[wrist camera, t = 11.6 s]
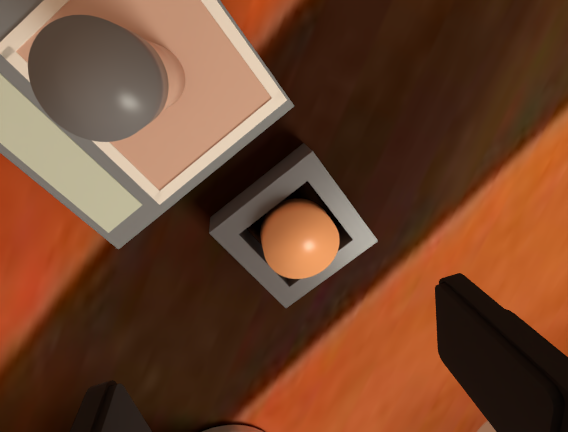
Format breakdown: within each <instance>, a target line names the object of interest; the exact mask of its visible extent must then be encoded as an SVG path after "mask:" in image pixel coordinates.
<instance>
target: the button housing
mask: <svg viewBox="0 0 568 432" xmlns="http://www.w3.org/2000/svg"><path fill="white" fill-rule="evenodd" d="M307 181H308V182H309V183H310V185H311V186H312V187H313V188H314V190H315V191H316V192H317V194H318V195H319V196H320V198H321V199H322V200H323V201H324V203H325V204H326V205H327V207H328V208H329V209H330V211H331V212H332V213H333V214H334V216H335V217H336V218H337V220H338V221H339V222H340V224H341V226H340V227H338V228H337V230H338V233H339V248H338V252H337V254H336V256H335V258H334V260H333V261H332V262H331V264H330V265H329V266H328V267H327V268H325V269H324V270H323V271H321V272H320V273H318V274H316V275H314V276H311V277H308V278H303V279H291V278H287V277H284V276H281V275H279V274H278V273H276V272H275V271H274V270H272V269H271V267H270V266H269V265H268V263H267V261H266V259H265V256H264V252H263V248H262V245H261V244H260V243H259V242H258V241H257V240H256V239H255V238H254V237H253V236H252V235H251V233H250V232H249V231H248V230H247V229H246V228H248V227H249V226H250V225H251V224H253V223H254V222H255V221H257V220H258V219H259V218H260V217H262V216H263V215H264V214H266V213H267V212H268V211H269V210H271V209H272V208H273V207H275V206H276V205H277V204H278V203H280V202H281V201H282V200H284V199H285V198H286V197H287V196H289V195H290V194H291V193H293V192H294V191H295V190H296V189H298V188H299V187H300V186H301V185H303V184H304V183H305V182H307ZM209 233H210V234H211V235H212V236H213V237H214V238H215V239H216V240H217V241H218V242H219V243H220V244H221V245H222V246H223V247H224V248H225V249H226V250H227V251H228V252H229V253H230V254H231V255H232V256H233V257H234V258H235V259H236V260H237V261H238V262H239V263H240V264H241V265H242V266H243V267H244V268H245V269H246V270H247V271H248V272H249V273H250V274H251V275H252V276H253V277H254V278H256V279H257V280H258V281H259V282H260V283H261V284H262V285H263V286H264V287H265V288H266V289H267V290H268V291H269V292H270V293H271V294H272V295H273V296H274V297H275V298H276V299H277V300H278V301H279V302H280V303H281V304H282V305H283V306H284V307H285V308H287V307H289V306H290V305H291V304H293V303H294V302H295V301H297V300H298V299H299V298H301V297H302V296H304V295H305V294H306V293H308V292H309V291H310V290H312V289H313V288H315V287H316V286H317V285H319V284H320V283H321V282H323V281H324V280H325V279H327V278H328V277H330V276H331V275H332V274H334V273H335V272H336V271H338V270H339V269H340V268H342V267H343V266H345V265H346V264H347V263H349V262H350V261H351V260H353V259H354V258H355V257H357V256H358V255H360V254H361V253H362V252H364V251H365V250H366V249H368V248H369V247H371V246H372V245H373V244H375V243H376V242H377V239H376V238H375V236H374V235H373V234H372V232H371V231H370V230H369V228H368V227H367V225H366V224H365V223H364V221H363V220H362V218H361V217H360V216H359V214H358V213H357V212H356V210H355V209H354V207H353V206H352V205H351V203H350V202H349V201H348V199H347V198H346V196H345V195H344V194H343V192H342V191H341V190H340V188H339V187H338V185H337V184H336V183H335V181H334V180H333V178H332V177H331V176H330V174H329V173H328V172H327V170H326V169H325V167H324V166H323V165H322V163H321V162H320V161H319V159H318V158H317V156H316V155H315V154H314V152H313V151H312V150H311V149H310V148H309V147H307V146H306V145H305V144H304V143H303V144H302V145H301V146H299V147H298V148H297V149H296V150H294V151H293V152H292V153H291V154H289V155H288V156H287V157H286V158H284V159H283V160H282V161H280V162H279V163H278V164H277V165H275V166H274V167H273V168H272V169H270V170H269V171H268V172H267V173H265V174H264V175H263V176H262V177H260V178H259V179H258V180H257V181H255V182H254V183H253V184H252V185H250V186H249V187H248V188H247V189H245V190H244V191H243V192H242V193H240V194H239V195H238V196H237V197H235V198H234V199H233V200H231V201H230V202H229V203H228V204H226V205H225V206H224V207H223V208H221V209H220V210H219V211H218V212H216V213H215V214H214V215H213V216H211V217H210V227H209Z"/></svg>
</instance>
